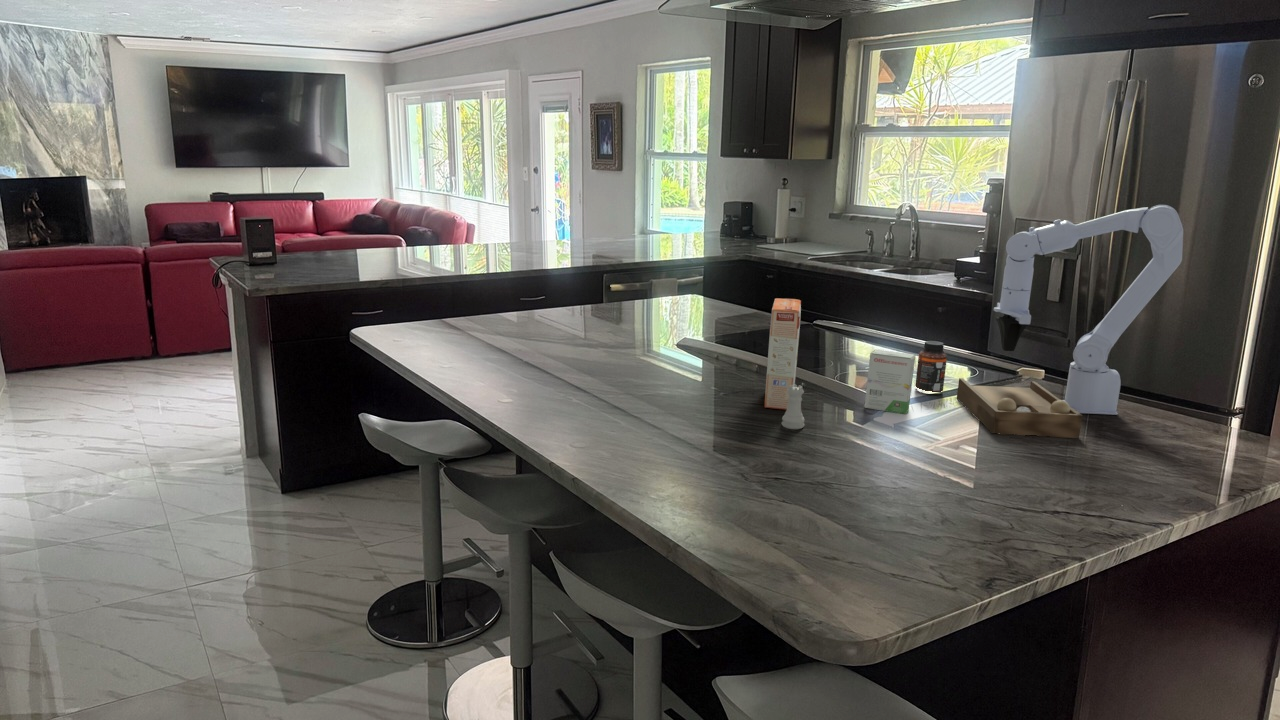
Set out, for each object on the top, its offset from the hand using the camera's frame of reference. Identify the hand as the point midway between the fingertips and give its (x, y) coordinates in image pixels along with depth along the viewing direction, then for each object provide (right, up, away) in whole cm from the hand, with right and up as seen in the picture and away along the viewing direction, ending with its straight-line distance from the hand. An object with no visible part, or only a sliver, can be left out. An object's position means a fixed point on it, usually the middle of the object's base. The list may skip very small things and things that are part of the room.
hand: (1008, 350), depth 187 cm
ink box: (-29, -12, -8) cm, 32 cm away
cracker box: (-51, -11, -5) cm, 52 cm away
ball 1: (-9, -11, -21) cm, 26 cm away
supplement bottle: (-16, -9, +4) cm, 19 cm away
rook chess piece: (-51, -15, -22) cm, 57 cm away
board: (-4, -14, -12) cm, 19 cm away
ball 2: (0, -12, -22) cm, 25 cm away
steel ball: (-4, -13, -16) cm, 21 cm away
